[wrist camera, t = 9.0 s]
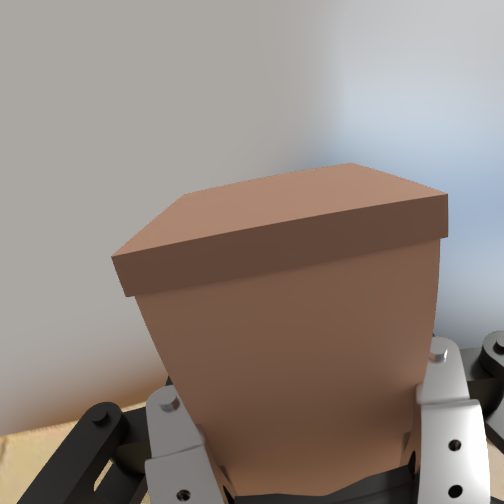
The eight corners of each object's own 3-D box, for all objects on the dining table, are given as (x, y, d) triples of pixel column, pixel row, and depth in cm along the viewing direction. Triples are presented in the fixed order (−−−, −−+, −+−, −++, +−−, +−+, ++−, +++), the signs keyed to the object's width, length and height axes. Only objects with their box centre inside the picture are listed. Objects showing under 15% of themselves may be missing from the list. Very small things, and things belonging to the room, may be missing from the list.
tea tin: (257, 527, 8) (110, 256, 4) (257, 435, 13) (183, 194, 9) (387, 504, 8) (447, 193, 4) (361, 417, 13) (351, 162, 9)
